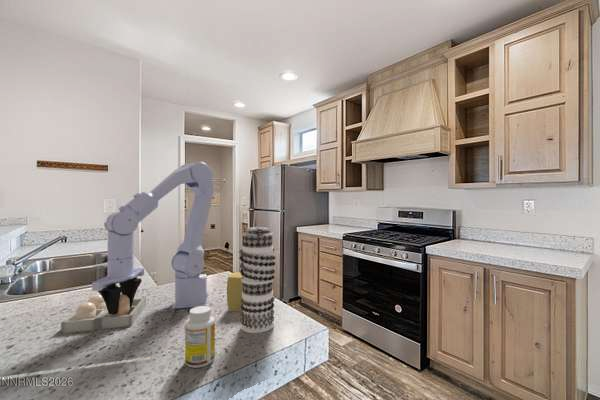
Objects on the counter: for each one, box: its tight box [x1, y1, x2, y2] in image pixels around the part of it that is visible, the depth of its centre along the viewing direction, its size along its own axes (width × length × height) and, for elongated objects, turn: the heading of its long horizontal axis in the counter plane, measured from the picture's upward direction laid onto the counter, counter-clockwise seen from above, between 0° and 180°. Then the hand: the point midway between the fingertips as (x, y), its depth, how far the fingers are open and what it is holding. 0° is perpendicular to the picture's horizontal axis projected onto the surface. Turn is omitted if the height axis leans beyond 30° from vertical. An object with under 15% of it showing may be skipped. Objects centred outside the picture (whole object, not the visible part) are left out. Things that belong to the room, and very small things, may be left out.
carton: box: [60, 297, 147, 334], centre depth 74 cm, size 15×14×3 cm
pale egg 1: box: [75, 301, 96, 320], centre depth 70 cm, size 4×4×6 cm
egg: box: [111, 294, 130, 316], centre depth 72 cm, size 4×4×6 cm
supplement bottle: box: [184, 305, 216, 369], centre depth 55 cm, size 6×6×10 cm
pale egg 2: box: [87, 293, 106, 309], centre depth 76 cm, size 4×4×6 cm
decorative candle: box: [239, 226, 276, 334], centre depth 71 cm, size 9×9×25 cm
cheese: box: [226, 271, 243, 312], centre depth 85 cm, size 10×11×10 cm
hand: (120, 310), depth 72 cm, fingers closed on egg, 4 cm apart
